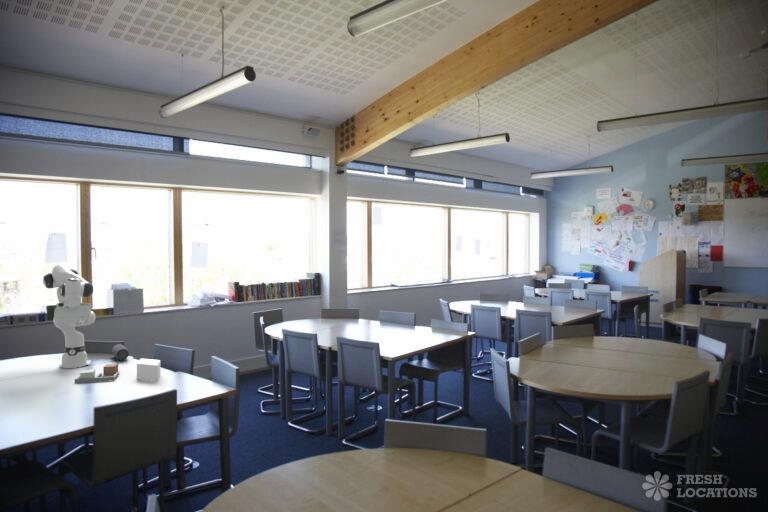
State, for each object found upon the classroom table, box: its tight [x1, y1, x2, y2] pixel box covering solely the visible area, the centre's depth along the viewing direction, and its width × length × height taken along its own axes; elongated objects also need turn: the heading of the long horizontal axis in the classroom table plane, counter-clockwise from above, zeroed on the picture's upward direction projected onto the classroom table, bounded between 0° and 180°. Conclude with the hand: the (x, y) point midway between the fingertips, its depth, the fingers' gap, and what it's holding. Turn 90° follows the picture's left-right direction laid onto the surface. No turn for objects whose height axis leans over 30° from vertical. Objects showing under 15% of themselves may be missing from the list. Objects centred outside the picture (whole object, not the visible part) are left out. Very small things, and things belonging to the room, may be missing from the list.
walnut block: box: [102, 361, 119, 376], centre depth 316 cm, size 15×7×6 cm, turn 18°
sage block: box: [79, 368, 96, 379], centre depth 296 cm, size 8×7×6 cm
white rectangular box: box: [136, 357, 161, 382], centre depth 304 cm, size 14×29×10 cm, turn 46°
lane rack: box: [74, 371, 120, 384], centre depth 300 cm, size 15×22×2 cm
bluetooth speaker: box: [111, 343, 130, 361], centre depth 358 cm, size 23×9×10 cm, turn 36°
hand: (72, 324), depth 306 cm, fingers open, 8 cm apart
